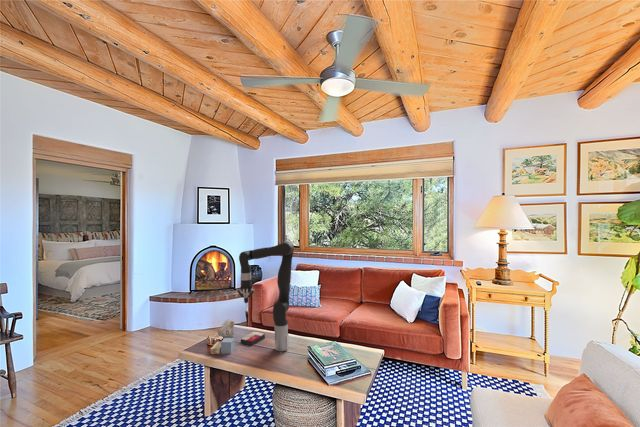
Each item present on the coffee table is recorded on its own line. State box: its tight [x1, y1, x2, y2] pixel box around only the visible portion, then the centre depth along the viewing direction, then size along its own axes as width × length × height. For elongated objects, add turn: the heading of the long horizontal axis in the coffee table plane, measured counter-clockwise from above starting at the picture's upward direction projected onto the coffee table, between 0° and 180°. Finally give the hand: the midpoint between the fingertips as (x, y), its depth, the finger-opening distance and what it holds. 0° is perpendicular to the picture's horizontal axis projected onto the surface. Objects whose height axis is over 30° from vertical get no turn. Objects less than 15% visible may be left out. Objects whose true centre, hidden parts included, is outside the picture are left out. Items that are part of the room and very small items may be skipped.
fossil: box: [217, 319, 235, 339], centre depth 230 cm, size 16×9×15 cm, turn 156°
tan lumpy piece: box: [210, 341, 221, 355], centre depth 209 cm, size 6×12×4 cm, turn 177°
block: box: [220, 337, 235, 355], centre depth 207 cm, size 7×7×8 cm
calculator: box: [240, 331, 266, 346], centre depth 225 cm, size 11×4×15 cm
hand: (246, 302), depth 216 cm, fingers closed
